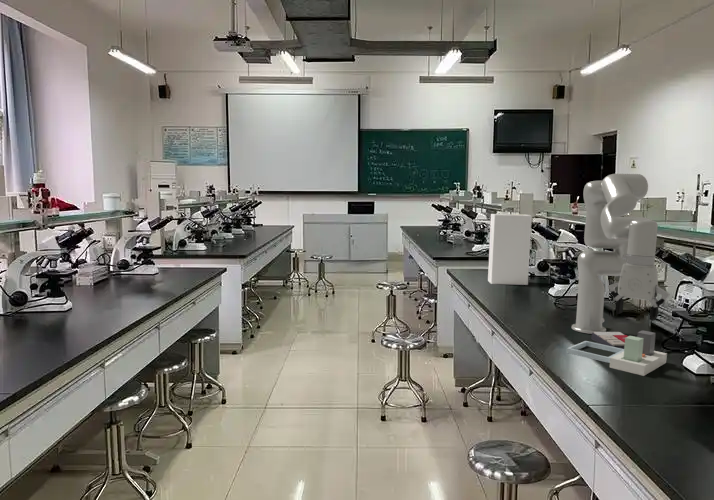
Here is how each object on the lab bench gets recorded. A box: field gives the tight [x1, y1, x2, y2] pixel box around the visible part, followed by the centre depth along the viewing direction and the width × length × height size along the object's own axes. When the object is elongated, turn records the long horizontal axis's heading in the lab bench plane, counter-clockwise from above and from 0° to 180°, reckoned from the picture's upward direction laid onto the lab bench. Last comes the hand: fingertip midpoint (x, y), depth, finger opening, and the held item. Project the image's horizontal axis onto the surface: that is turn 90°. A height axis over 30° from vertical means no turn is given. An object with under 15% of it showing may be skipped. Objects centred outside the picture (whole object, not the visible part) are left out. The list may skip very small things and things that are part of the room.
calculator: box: [590, 331, 629, 349], centre depth 198 cm, size 11×4×15 cm
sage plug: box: [624, 335, 644, 363], centre depth 171 cm, size 4×4×10 cm
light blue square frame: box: [566, 340, 624, 364], centre depth 186 cm, size 14×14×2 cm
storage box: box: [487, 213, 533, 286], centre depth 324 cm, size 21×10×40 cm, turn 88°
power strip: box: [609, 350, 668, 377], centre depth 174 cm, size 19×10×5 cm, turn 133°
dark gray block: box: [636, 329, 656, 356], centre depth 177 cm, size 4×4×10 cm
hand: (635, 316), depth 170 cm, fingers open, 9 cm apart
